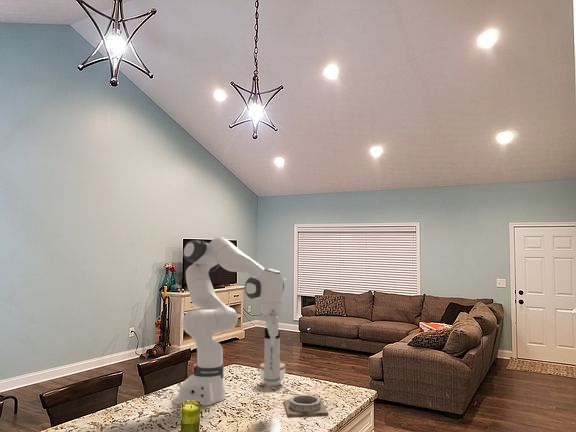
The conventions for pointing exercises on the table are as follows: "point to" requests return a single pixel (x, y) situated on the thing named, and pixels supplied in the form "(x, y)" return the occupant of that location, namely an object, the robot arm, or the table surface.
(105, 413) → the table surface
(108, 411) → the table surface
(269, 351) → the travel mug
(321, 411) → the collar board
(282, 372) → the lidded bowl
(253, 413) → the table surface
